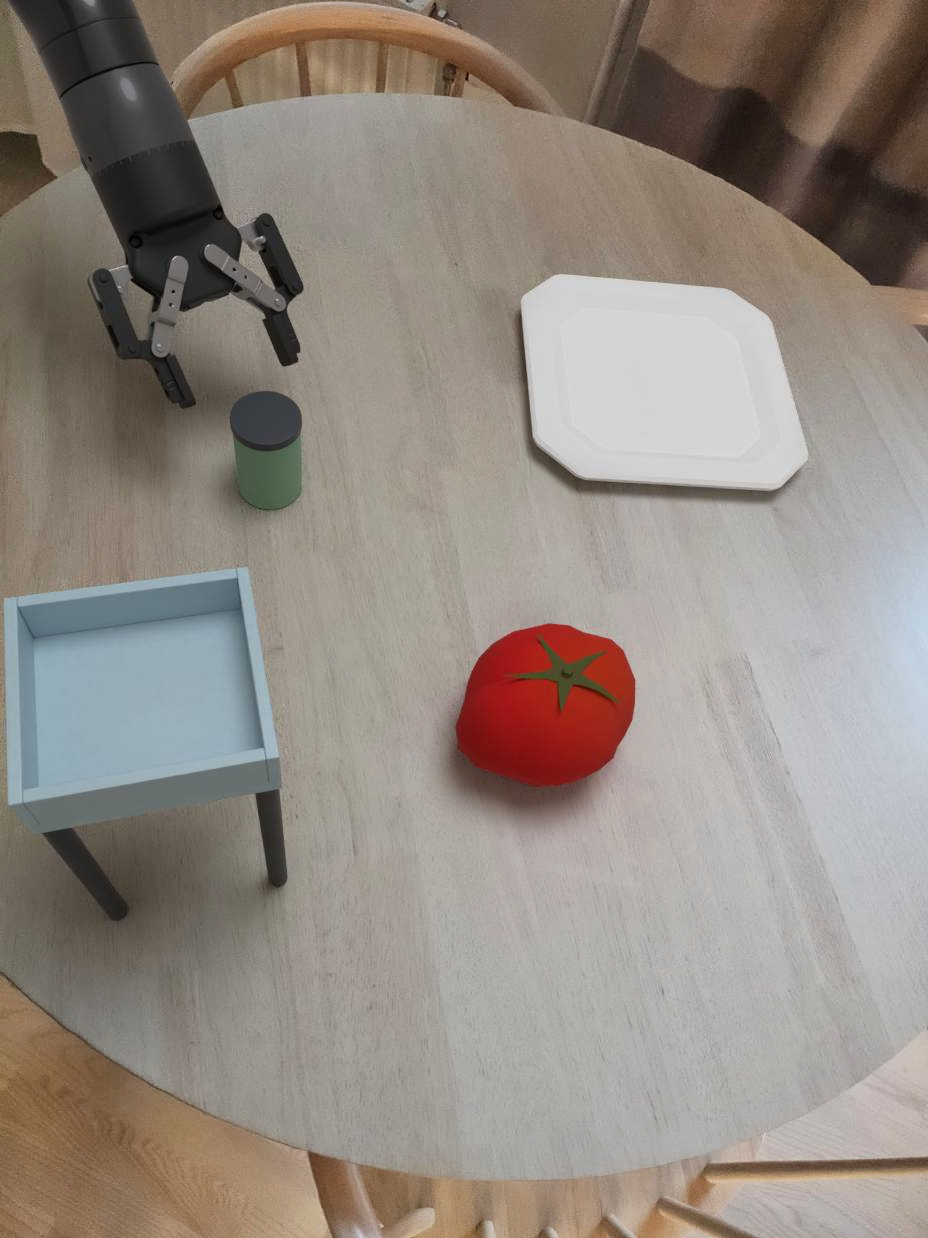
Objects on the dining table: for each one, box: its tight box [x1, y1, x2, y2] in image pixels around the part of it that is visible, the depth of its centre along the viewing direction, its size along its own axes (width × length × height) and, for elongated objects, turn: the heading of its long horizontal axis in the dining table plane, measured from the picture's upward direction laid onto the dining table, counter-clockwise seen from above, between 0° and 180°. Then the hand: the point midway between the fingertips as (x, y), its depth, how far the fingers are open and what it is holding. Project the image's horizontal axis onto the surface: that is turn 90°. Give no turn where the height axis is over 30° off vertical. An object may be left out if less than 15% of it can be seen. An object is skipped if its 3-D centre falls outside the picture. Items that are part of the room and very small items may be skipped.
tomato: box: [455, 622, 637, 788], centre depth 64 cm, size 11×13×10 cm
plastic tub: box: [229, 390, 303, 511], centre depth 73 cm, size 5×5×8 cm
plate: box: [519, 273, 810, 492], centre depth 86 cm, size 25×25×2 cm
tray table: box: [2, 566, 289, 922], centre depth 52 cm, size 11×10×22 cm
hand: (241, 385), depth 70 cm, fingers open, 8 cm apart
